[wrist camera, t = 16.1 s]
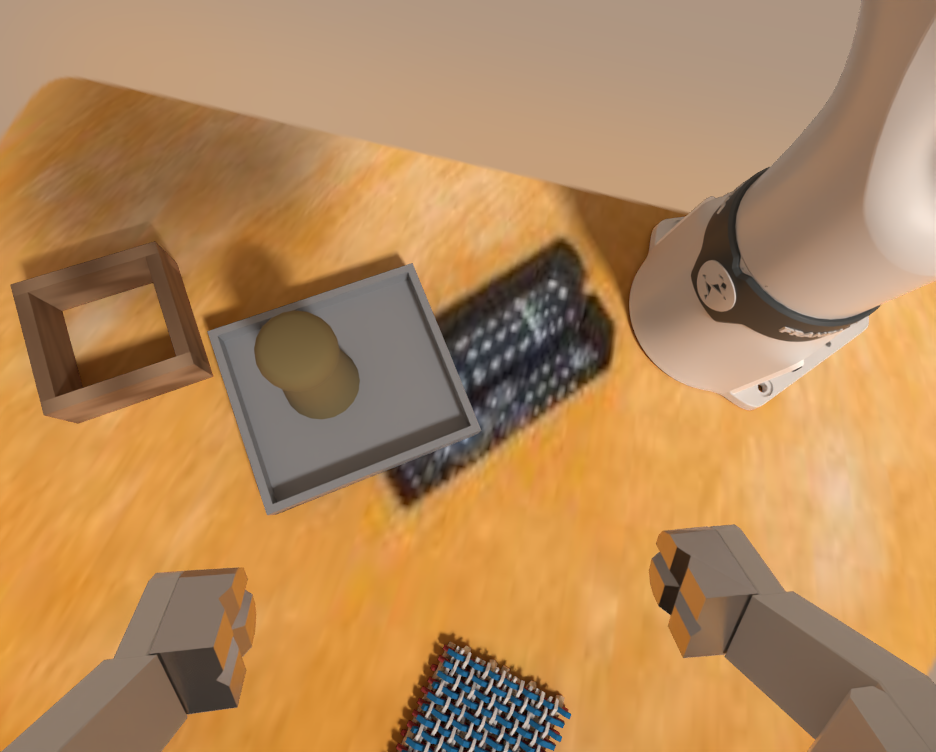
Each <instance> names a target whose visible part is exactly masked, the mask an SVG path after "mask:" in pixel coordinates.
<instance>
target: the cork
mask: <svg viewBox="0 0 936 752" xmlns="http://www.w3.org/2000/svg"><path fill="white" fill-rule="evenodd" d="M254 353H255V360H256V365H257V367H258V369H259V370H260V372H261V374H262V376H264V377H265V378H266V379H267V380H268V381H269V382H270V383H271V384H273V385H274V386H276V387H278V388H281V389H282V390H283V392H284V394H285V396H286V398H287V400H288V402H289V404H290V406H291V407H293V408H294V409H295V410H296V411H297V412H298V413H299V414H301V415H304V416H306V417H308V418H312V419H327V418H332V417H335V416H337V415H339V414H341V413H342V412H344V411H345V410H346V409H347V408H348V407H349V406H350V405H351V404H352V403H353V402H354V400H355V398H356V396H357V394H358V391H359V384H360V378H359V373H358V369H357V367H356V365H355V364H354V362H353V360H352V359H351V358H350V357H349V356H348V355H346V354H345V353H344V352H343V351H342V350H340V349H339V345H338V340H337V337H336V335H335V334H334V332H333V330H332V328H331V327H330V325H328V324H327V323H326V322H325V321H324V320H323V319H322V318H320V317H318V316H316V315H313V314H311V313H309V312H304V311H296V310H294V311H289V312H283V313H281V314H279V315H277V316H275V317H273V318H271V319H270V320H269V321H268V322H267V323H266V324H265V325H264V326H263V327H262V328H261V330H260V332H259V333H258V335H257V337H256V341H255V346H254Z"/></svg>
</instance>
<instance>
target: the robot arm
mask: <svg viewBox="0 0 936 752" xmlns="http://www.w3.org/2000/svg"><path fill="white" fill-rule="evenodd" d="M934 281H936V0H861V6H860V11H859V17H858V22H857V27H856V31H855V35H854V39H853V43H852V47H851V50H850V53H849V55H848V59H847V61H846V64H845V67H844V70H843V72H842V74H841V76H840V79H839V81H838V83H837V86H836V87H835V89H834V91H833V93H832V95H831V96H830V98H829V100H828V101H827V102H826V104H825V105H824V107H823V108H822V110H821V111H820V112H819V113H818V115H817V116H816V117H815V118H814V120H813V121H812V122H811V123H810V124H809V125H808V126H807V128H806V129H805V130H804V131H803V132H802V134H801V135H800V136H799V137H798V138H797V139H796V140H795V142H794V143H793V144H792V145H791V146H790V147H789V148H788V149H787V150H786V151H785V152H784V153H783V154H782V155H781V156H780V158H779V159H777V161H776V162H775V163H774V164H773V165H772V166H771V167H768V168H766V169H764V170H762V171H760V172H758V173H757V174H755V175H754V176H752V177H751V178H750V179H748V180H747V181H745V182H743V183H742V184H741V185H740V186H739V187H737V188H736V189H735V190H734V191H733V192H730V193H727V194H726V195H724V196H723V197H718V198H715V197H713V196H711V197H709V198H707V199H705V200H704V201H702V202H701V203H700V204H699V205H698V206H697V207H696V208H694V209H693V210H692V211H691V212H690V213H689V214H688V215H686V216H685V217H678V218H671V219H665V220H662V221H661V222H660V223H658V224H657V225H656V226H655V227H654V229H653V231H652V234H651V239H650V247H649V253H648V256H647V258H646V259H645V261H644V262H643V264H642V265H641V267H640V269H639V270H638V272H637V274H636V276H635V278H634V281H633V284H632V287H631V292H630V300H629V309H630V318H631V322H632V326H633V329H634V332H635V335H636V337H637V339H638V341H639V343H640V345H641V346H642V348H643V350H644V351H645V353H646V354H647V355H648V357H649V358H650V359H651V360H652V361H653V362H654V363H655V364H656V365H657V366H658V367H659V368H660V369H661V370H662V371H664V372H665V373H666V374H668V375H669V376H671V377H672V378H674V379H675V380H677V381H679V382H681V383H683V384H686V385H688V386H691V387H694V388H698V389H702V390H707V391H712V392H715V393H718V394H720V395H722V396H723V397H725V398H726V399H728V400H729V401H731V402H732V403H734V404H735V405H737V406H739V407H741V408H743V409H746V410H754V409H756V408H758V407H760V406H762V405H764V404H765V403H766V402H768V401H769V400H771V399H772V398H773V397H775V396H776V395H777V394H779V393H780V392H781V391H783V390H784V389H786V388H787V387H788V386H790V385H791V384H792V383H794V382H795V381H796V380H798V379H799V378H801V377H802V376H803V375H805V374H806V373H807V372H809V371H810V370H812V369H813V368H814V367H816V366H817V365H818V364H820V363H821V362H822V361H824V360H825V359H827V358H828V357H829V356H831V355H832V354H833V353H835V352H836V351H837V350H839V349H840V348H842V347H843V346H844V345H846V344H847V343H848V342H850V341H851V340H853V339H854V338H855V337H857V336H858V335H859V334H861V333H862V332H863V331H864V330H865V329H866V328H867V327H868V324H869V315H870V314H871V313H873V312H874V311H875V310H877V309H878V308H879V307H880V305H881V304H883V303H886V302H888V301H890V300H893V299H895V298H897V297H900V296H902V295H904V294H907V293H909V292H911V291H913V290H916V289H918V288H920V287H923V286H925V285H927V284H929V283H932V282H934ZM758 385H760V386H761V387H762V392H760V391H759V389H758ZM656 545H657V547H658V549H659V551H660V552H659V553H658V554H656V555H655V556H654V557H653V558H652V560H651V564H650V568H649V576H650V585H651V588H652V592H653V595H654V597H655V599H656V602H657V604H658V606H659V607H661V608H662V609H663V610H664V611H666V612H667V613H668V614H670V615H671V616H670V620H669V624H668V627H669V629H670V632H671V634H672V636H673V638H674V640H675V642H676V644H677V646H678V648H679V650H680V653H681V655H682V657H683V658H688V657H700V656H712V655H725V654H726V655H725V658H727V659H728V660H729V661H730V662H731V663H732V664H733V665H734V666H735V667H736V668H737V669H739V670H740V671H741V672H742V673H743V674H744V675H745V676H746V677H747V678H748V679H750V680H751V681H752V682H753V683H754V684H755V685H756V686H757V687H758V688H759V689H760V690H762V691H763V692H764V693H765V694H766V695H767V696H768V697H769V698H770V699H771V700H772V701H774V702H775V703H776V704H777V705H778V706H779V707H780V708H781V709H782V710H783V711H785V712H786V713H787V714H788V715H789V716H790V717H791V718H792V719H793V720H794V721H795V722H797V723H798V724H799V725H800V726H801V727H802V728H803V729H804V730H805V731H806V732H808V733H809V734H810V735H811V736H812V737H813V738H814V739H815V741H814V743H813V744H812V746H811V747H810V748H809V750H808V751H807V752H936V685H935V684H934V682H933V681H932V680H931V679H930V678H929V677H928V676H926V675H925V674H923V673H922V672H920V671H918V670H917V669H915V668H914V667H912V666H910V665H909V664H907V663H906V662H904V661H903V660H901V659H899V658H898V657H896V656H895V655H893V654H891V653H890V652H888V651H887V650H885V649H884V648H882V647H880V646H879V645H877V644H876V643H874V642H872V641H871V640H869V639H868V638H866V637H865V636H863V635H861V634H860V633H858V632H857V631H855V630H853V629H852V628H850V627H849V626H847V625H846V624H844V623H842V622H841V621H839V620H838V619H836V618H834V617H833V616H831V615H830V614H828V613H827V612H825V611H823V610H822V609H820V608H819V607H817V606H815V605H814V604H812V603H811V602H809V601H808V600H806V599H804V598H803V597H801V596H800V595H798V594H796V593H795V592H793V591H791V592H786V591H785V590H784V588H783V587H782V586H781V584H780V583H779V582H778V580H777V579H776V577H775V576H774V575H773V573H772V572H771V570H770V569H769V568H768V566H767V565H766V563H765V562H764V561H763V559H762V558H761V557H760V555H759V554H758V552H757V551H756V550H755V548H754V547H753V545H752V544H751V543H750V541H749V540H748V538H747V537H746V536H745V534H744V533H743V532H742V530H741V529H740V528H739V527H737V526H736V525H724V526H712V527H707V526H706V527H696V528H686V529H676V530H666V531H662V532H661V533H660V534H659V536H658V539H657V542H656ZM247 581H248V578H247V575H246V573H245V570H244V568H223V569H206V570H189V571H176V572H162V573H156V574H155V575H154V576H153V577H152V578H151V579H150V580H149V581H148V583H147V586H146V588H145V590H144V592H143V594H142V597H141V599H140V601H139V603H138V606H137V608H136V610H135V612H134V614H133V617H132V619H131V621H130V623H129V625H128V628H127V630H126V632H125V634H124V636H123V639H122V641H121V643H120V645H119V647H118V650H117V652H116V654H115V656H114V658H113V659H107V660H104V661H102V662H101V663H100V664H99V665H98V666H97V667H96V668H95V669H94V670H92V671H91V672H90V673H89V674H88V675H87V676H86V677H85V678H83V679H82V680H81V681H80V682H79V683H78V684H77V685H76V686H74V687H73V688H72V689H71V690H70V691H69V692H68V693H67V694H66V695H64V696H63V697H62V698H61V699H60V700H59V701H58V702H57V703H55V704H54V705H53V706H52V707H51V708H50V709H49V710H48V711H47V712H45V713H44V714H43V715H42V716H41V717H40V718H39V719H38V720H36V721H35V722H34V723H33V724H32V725H31V726H30V727H29V728H27V729H26V730H25V731H24V732H23V733H22V734H21V735H20V736H19V737H17V738H16V739H15V740H14V741H13V742H12V743H11V744H10V745H8V746H7V747H6V748H5V749H4V750H3V751H2V752H161V751H162V750H163V748H164V747H165V746H166V745H167V743H168V742H169V741H170V739H171V738H172V737H173V736H174V734H175V733H176V732H177V730H178V729H179V728H180V727H181V725H182V724H183V723H184V721H185V720H186V719H187V715H186V714H193V713H200V712H208V711H215V710H222V709H229V708H236V707H238V703H239V699H240V695H241V691H242V686H243V682H244V678H245V674H246V668H245V665H244V662H243V659H242V657H243V656H244V654H245V653H246V652H247V651H248V650H249V649H250V648H251V647H252V643H253V638H254V634H255V625H256V608H255V601H254V598H253V595H252V594H251V593H249V592H248V591H246V590H245V588H246V584H247Z"/></svg>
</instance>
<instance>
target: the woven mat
mask: <svg viewBox="0 0 936 752" xmlns="http://www.w3.org/2000/svg"><path fill="white" fill-rule="evenodd" d="M455 646H456V644H454V643H452V642H449V644H448V645H444V647H443V650H445V651H444V653H443V655H442V656H441V655H439V657H438V661H440V662H439V665H435V664H432V666H431V670H433V671H435V673H434V674H433V677H429V679H428V682H429V683H430V684H429V686H428V688H426V687H424V686H423V687H422V690H421V691H422V692H423V693H425V694H424V696H423V698H422V699H421V698H419V699H418V701H417V703H418V704H419V707H418V709H417V710H415V709H414V711H413V713H412V715H414V718H413V720H412V721H411V720H409V721H408V723H407V726H408V727H409V728H408V730H403V729H402V732H401V735H402V736H404V738H403V740H402V743H401V744H400V743H398V744H397V746H396V749H397V750H398V752H446V751H447V752H495V751H496V750H497V751H498V752H524V750H525V751H526V752H546V751H544V750H543V748H544V747H545V748H548V749H551V750H553V751H554V749H555V746H556V745H555V743H553V742H552V741H550V740H548V739H547V738H548V736H551V737H552V738H554V739H555V740H557V741H559V742H560V741H561V739H562V736H560V733H559V732H558V731H556V730H554V729H553V728H552V726H553V724H554V725H556V726H559V727H561V728H563V726H564V724H565V723H564V721H563V720H561V719H559V718H557V717H558V716H559V715H560V714H561V715H563V716H564V717H566V718H568V719H570V716H571V714H570V713H569V712H568V709H567V708H565V707H564V706H563V704H564V697H562V696H561V695H556V698H555V701H553V700H552V699H553V697H552V696H550V697H549V698H548V699H547V698H545V696H546V693H545V692H543V691H542V690H540V689H536V682H534V681H530V682H529V683H528V684H527V685H526V687H525V686H524V683H525V681H523V680H521V684H520V679H519V678H517V677H516V676H514V678H513V679H511V677H512V675H511V674H508V673H509V671H510V668H508V667H506V666H504V665H503V666H502V669H501V671H500V673H499V672H498V671H499V667H497V662H496V661H495V660H492V659H490V661H489V662H488V664H487V665H486V664H485V662H486V661H484V660H482V659H481V658H479V657H477V656H476V657H475V659H472V658H470V657H471V647H468V646H465V647H464V648H461V650H460V652H459V649H460V647H459V646H457V648H456V650H455ZM451 656H452V658H451ZM450 658H451V660H450ZM455 659H456V661H455V663H454V660H455ZM481 661H482V662H481ZM467 664H468V665H470V666H471V668H470V670H467V669H465V667H466V666H467ZM450 669H451V672H449V670H450ZM477 670H478V672H477ZM476 672H477V674H476ZM481 672H484V673H483V674H482V676H481V677H480V674H481ZM507 675H508V676H507ZM461 676H464V677H466V678H465V680H464V681H463V680H461ZM441 679H442V680H441ZM494 679H495V680H496V682H495V684H494V683H493V681H494ZM440 680H441V682H440ZM472 681H474V682H473V685H471V684H472ZM503 684H504V685H503ZM476 685H477V686H476ZM457 686H458V687H459V688H460V690H458V689H456V688H457ZM507 686H508V687H509V689H508V690H507V689H506V688H507ZM502 687H503V688H502ZM486 688H487V689H486ZM436 689H438V690H437V692H436V693H435V691H436ZM485 689H486V691H485ZM490 690H491V694H490V695H489V694H488V692H489V691H490ZM535 690H536V692H534V691H535ZM539 691H540V692H539ZM521 693H522V694H523V695H522V697H520V694H521ZM538 693H539V694H538ZM468 694H469V695H468ZM498 696H499V697H498ZM471 697H472V698H471ZM503 697H504V698H505V699H504V700H503V702H502V701H501V700H502V698H503ZM451 698H453V699H455V701H454V702H452V701H451ZM497 698H498V699H497ZM530 699H532V701H531V703H529V701H530ZM483 702H485V703H486V705H483ZM436 704H437V705H436ZM463 704H464V705H463ZM515 705H517V706H518V707H517V709H516V708H515ZM543 705H544V706H545V707H544V710H542V706H543ZM462 706H463V707H462ZM466 706H467V707H466ZM494 706H495V707H494ZM493 707H494V710H493ZM447 708H448V709H449V710H450V712H447V711H446V710H447ZM548 709H550V710H549V713H548V712H547V711H548ZM476 710H477V711H476ZM525 710H528V712H527V714H526V713H524V712H525ZM426 711H427V713H426ZM497 711H498V712H497ZM475 712H476V713H475ZM425 713H426V715H425ZM480 713H481V714H482V715H480ZM508 713H509V714H508ZM431 714H432V715H431ZM507 714H508V715H507ZM458 715H459V717H458V718H457V716H458ZM511 715H512V716H513V718H512V720H511V719H510V717H511ZM540 717H541V719H540ZM461 718H462V719H461ZM544 719H545V720H546V721H545V723H543V721H544ZM441 721H445V723H444V724H442V723H440V722H441ZM520 722H524V724H523V726H522V725H520ZM420 723H421V726H420ZM470 723H471V724H470ZM474 724H475V725H476V727H474V726H473V725H474ZM453 726H454V728H452V727H453ZM505 728H508V730H507V731H506V730H505ZM437 731H438V732H439V733H440V734H439V736H438V735H437V734H435V733H436V732H437ZM484 731H485V732H484ZM534 731H535V732H534ZM538 731H540V732H541V733H540V735H539V734H538ZM516 732H518V733H519V735H518V736H516V735H515V734H516ZM416 734H417V735H416ZM470 735H471V736H472V737H471V738H470ZM498 735H499V736H498ZM448 737H450V738H449V739H448V740H447V738H448ZM497 737H498V738H497ZM502 738H503V739H504V741H503V740H501V739H502ZM529 739H532V741H531V742H530V743H529V742H528V741H529ZM479 740H481V742H480V743H478V742H479ZM430 743H431V744H435V745H434V747H433V746H431V745H430ZM535 743H536V745H535V746H534V744H535ZM513 744H514V745H515V746H513ZM464 747H467V748H466V750H465V749H463V748H464ZM413 749H414V750H413ZM442 749H443V750H442Z"/></svg>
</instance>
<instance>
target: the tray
mask: <svg viewBox="0 0 936 752" xmlns="http://www.w3.org/2000/svg"><path fill="white" fill-rule="evenodd" d="M294 310H296V311H304V312H309V313H311V314H313V315H316V316H318V317H320V318H322V319H323V320H324V321H325V322H326V323H327V324H328V325H330V327H331V328H332V330H333V332H334V334H335V335H336V337H337V340H338V345H339V349H340V350H342V351H343V352H344V353H345V354H346V355H348V356H349V357H350V358H351V359H352V360H353V362H354V364H355V365H356V367H357V369H358V373H359V378H360V384H359V391H358V394H357V396H356V398H355V400H354V402H353V403H352V404H351V405H350V406H349V407H348V408H347V409H346V410H345V411H344V412H342V413H341V414H339V415H337V416H335V417H332V418H327V419H312V418H308V417H306V416H304V415H301V414H299V413H298V412H297V411H296V410H295V409H294V408H293V407H291V406H290V404H289V402H288V400H287V398H286V396H285V394H284V392H283V390H282V389H281V388H278V387H276V386H274V385H273V384H271V383H270V382H269V381H268V380H267V379H266V378H265V377H264V376H262V374H261V372H260V370H259V369H258V367H257V365H256V360H255V353H254V346H255V341H256V337H257V335H258V333H259V332H260V330H261V328H262V327H263V326H264V325H265V324H266V323H267V322H268V321H269V320H270V319H271V318H273V317H275V316H277V315H279V314H281V313H283V312H289V311H294ZM207 332H208V335H209V338H210V341H211V344H212V347H213V350H214V353H215V356H216V359H217V362H218V365H219V369H220V372H221V375H222V378H223V381H224V384H225V387H226V390H227V393H228V396H229V399H230V402H231V405H232V409H233V412H234V415H235V418H236V421H237V424H238V427H239V430H240V433H241V436H242V439H243V442H244V445H245V449H246V452H247V455H248V458H249V461H250V464H251V467H252V470H253V473H254V476H255V479H256V482H257V485H258V489H259V492H260V495H261V498H262V501H263V504H264V507H265V510H266V513H267V515H276V514H279V513H281V512H284V511H286V510H289V509H291V508H294V507H296V506H299V505H301V504H304V503H306V502H309V501H311V500H314V499H316V498H319V497H321V496H324V495H326V494H329V493H331V492H334V491H336V490H339V489H341V488H344V487H346V486H349V485H351V484H354V483H356V482H359V481H361V480H364V479H366V478H369V477H371V476H374V475H376V474H379V473H381V472H384V471H386V470H389V469H391V468H394V467H396V466H399V465H401V464H404V463H406V462H409V461H411V460H414V459H416V458H419V457H421V456H424V455H426V454H429V453H431V452H434V451H436V450H439V449H441V448H444V447H447V446H449V445H452V444H454V443H457V442H459V441H462V440H464V439H467V438H469V437H472V436H474V435H477V434H478V433H479V432H480V431H481V429H480V426H479V424H478V421H477V419H476V417H475V414H474V412H473V409H472V407H471V404H470V402H469V400H468V397H467V395H466V392H465V390H464V387H463V385H462V383H461V380H460V378H459V375H458V373H457V370H456V368H455V366H454V363H453V361H452V358H451V356H450V353H449V351H448V349H447V346H446V344H445V341H444V339H443V336H442V334H441V332H440V329H439V327H438V324H437V322H436V319H435V317H434V314H433V312H432V310H431V307H430V305H429V302H428V300H427V297H426V295H425V293H424V290H423V288H422V285H421V283H420V280H419V278H418V276H417V273H416V271H415V268H414V266H413V263H411V264H408V265H405V266H402V267H399V268H396V269H393V270H390V271H387V272H384V273H381V274H378V275H375V276H372V277H369V278H366V279H363V280H360V281H357V282H354V283H351V284H348V285H345V286H342V287H339V288H336V289H333V290H330V291H327V292H324V293H321V294H318V295H315V296H312V297H309V298H306V299H303V300H300V301H297V302H294V303H291V304H288V305H285V306H282V307H279V308H276V309H273V310H270V311H267V312H264V313H261V314H258V315H255V316H252V317H249V318H246V319H243V320H240V321H237V322H234V323H231V324H228V325H225V326H222V327H219V328H216V329H213V330H210V331H207Z"/></svg>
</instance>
